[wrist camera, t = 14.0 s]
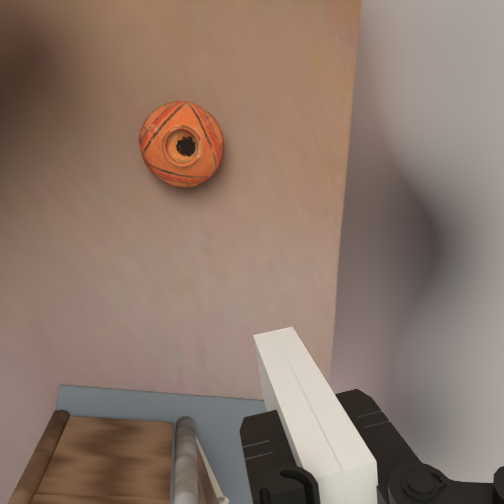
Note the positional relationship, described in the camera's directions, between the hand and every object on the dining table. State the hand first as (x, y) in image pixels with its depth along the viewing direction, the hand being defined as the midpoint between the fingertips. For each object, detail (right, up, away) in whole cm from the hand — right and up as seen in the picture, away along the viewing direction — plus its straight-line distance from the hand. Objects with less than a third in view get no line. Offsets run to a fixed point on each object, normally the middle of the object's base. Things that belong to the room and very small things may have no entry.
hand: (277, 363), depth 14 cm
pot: (-8, +15, +26) cm, 31 cm away
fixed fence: (-16, -16, +32) cm, 39 cm away
